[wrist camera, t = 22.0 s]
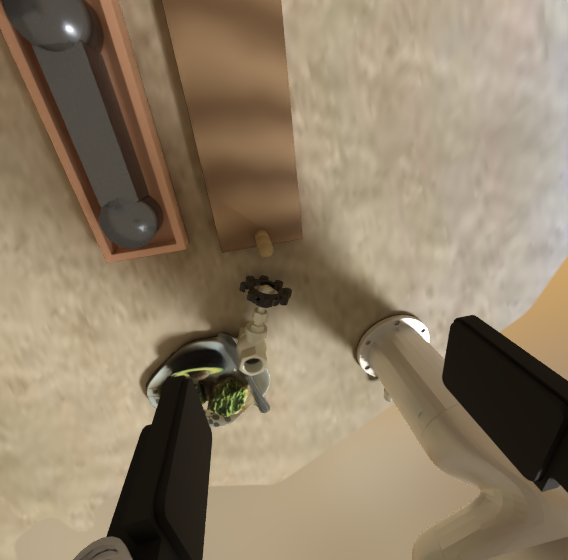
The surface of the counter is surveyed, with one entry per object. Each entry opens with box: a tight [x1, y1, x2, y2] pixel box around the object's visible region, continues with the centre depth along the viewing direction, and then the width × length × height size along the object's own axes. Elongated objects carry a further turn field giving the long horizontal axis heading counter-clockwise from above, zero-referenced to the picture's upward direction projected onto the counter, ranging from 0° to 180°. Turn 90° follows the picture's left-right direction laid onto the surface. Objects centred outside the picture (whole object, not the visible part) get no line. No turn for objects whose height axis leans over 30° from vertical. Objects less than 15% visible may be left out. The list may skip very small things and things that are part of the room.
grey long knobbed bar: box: [2, 0, 163, 248], centre depth 26 cm, size 21×5×4 cm, turn 7°
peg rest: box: [162, 0, 302, 257], centre depth 26 cm, size 28×10×6 cm, turn 7°
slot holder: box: [0, 0, 189, 263], centre depth 27 cm, size 25×9×3 cm, turn 7°
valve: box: [236, 275, 292, 376], centre depth 37 cm, size 7×7×12 cm
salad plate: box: [146, 332, 270, 428], centre depth 43 cm, size 19×18×5 cm
